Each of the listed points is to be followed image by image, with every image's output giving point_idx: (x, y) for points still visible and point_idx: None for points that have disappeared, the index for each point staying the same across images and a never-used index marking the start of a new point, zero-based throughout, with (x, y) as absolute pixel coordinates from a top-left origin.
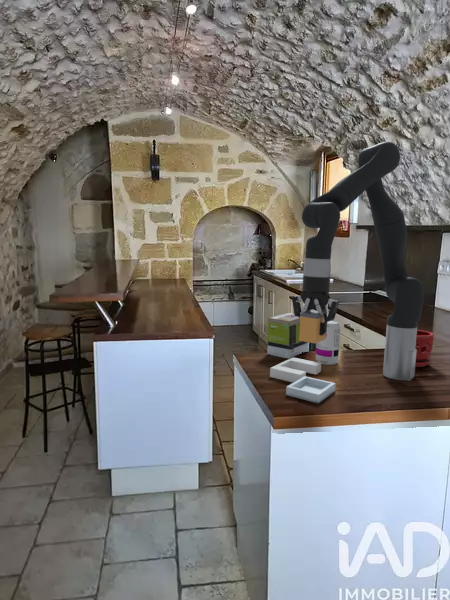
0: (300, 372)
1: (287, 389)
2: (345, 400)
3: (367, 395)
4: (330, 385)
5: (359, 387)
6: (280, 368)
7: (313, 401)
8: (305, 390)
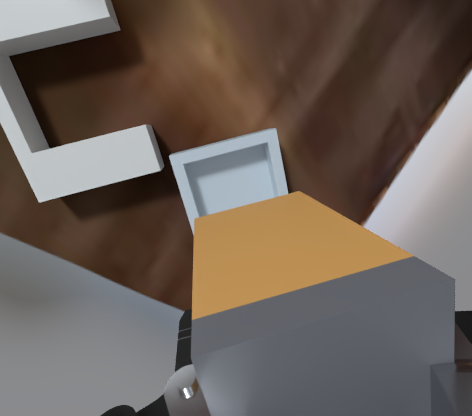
0: (141, 150)
1: None
2: (323, 164)
3: (347, 76)
4: (277, 160)
5: (299, 26)
6: (64, 175)
7: None
8: None
